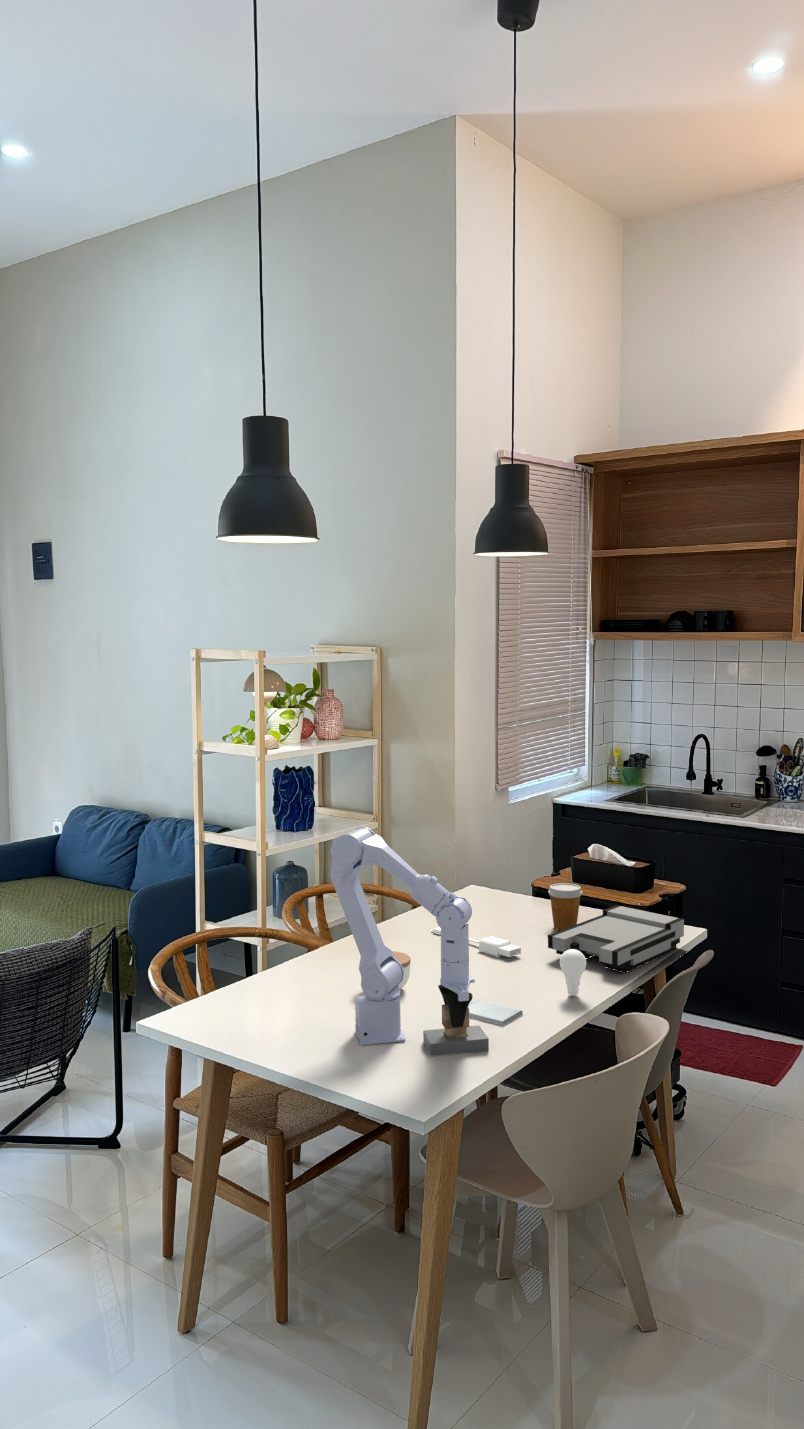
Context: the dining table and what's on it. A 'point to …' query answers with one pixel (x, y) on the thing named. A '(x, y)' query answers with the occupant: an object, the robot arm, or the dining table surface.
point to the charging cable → (493, 945)
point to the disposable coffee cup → (564, 904)
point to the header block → (455, 1042)
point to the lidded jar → (405, 963)
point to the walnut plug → (446, 1022)
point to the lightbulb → (572, 969)
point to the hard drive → (492, 1012)
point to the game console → (621, 937)
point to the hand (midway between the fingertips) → (455, 1023)
